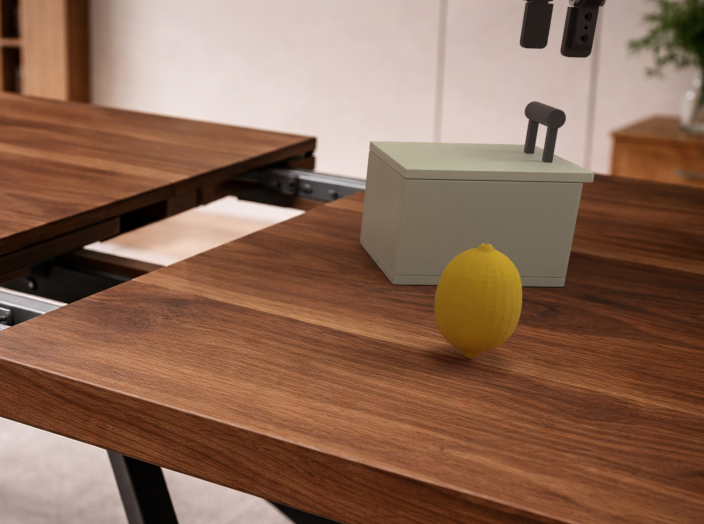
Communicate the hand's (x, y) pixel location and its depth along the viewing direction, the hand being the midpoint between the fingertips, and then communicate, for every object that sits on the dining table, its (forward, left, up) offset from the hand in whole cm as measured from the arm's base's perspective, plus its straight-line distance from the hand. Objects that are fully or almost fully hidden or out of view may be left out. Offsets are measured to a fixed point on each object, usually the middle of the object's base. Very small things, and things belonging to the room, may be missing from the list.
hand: (552, 52), depth 79 cm
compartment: (+6, 0, -18) cm, 19 cm away
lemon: (+12, +22, -18) cm, 31 cm away
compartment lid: (+5, 0, -9) cm, 11 cm away
